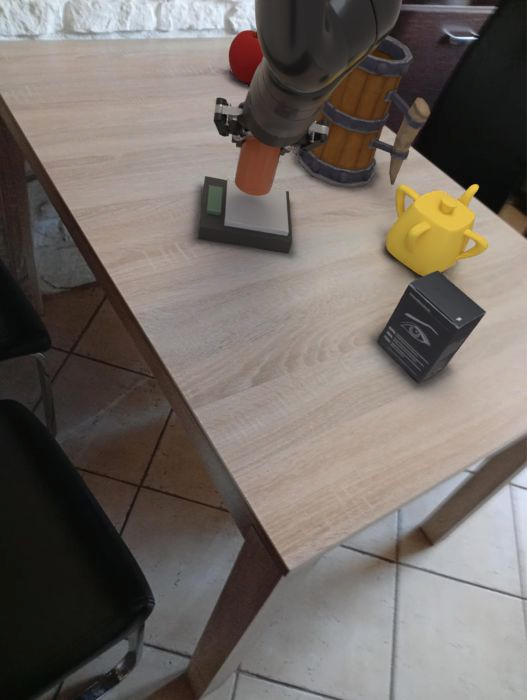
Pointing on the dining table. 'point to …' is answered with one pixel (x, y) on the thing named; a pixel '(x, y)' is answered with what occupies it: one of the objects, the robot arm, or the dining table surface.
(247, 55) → the apple
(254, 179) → the cup
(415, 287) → the box
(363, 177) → the mug
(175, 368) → the dining table surface
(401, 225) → the teapot
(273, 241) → the scale
